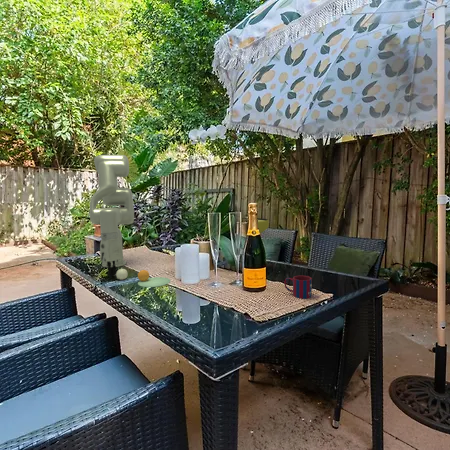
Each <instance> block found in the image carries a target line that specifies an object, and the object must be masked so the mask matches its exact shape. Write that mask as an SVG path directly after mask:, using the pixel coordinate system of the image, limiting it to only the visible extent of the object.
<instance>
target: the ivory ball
mask: <svg viewBox="0 0 450 450" xmlns="http://www.w3.org/2000/svg"><path fill="white" fill-rule="evenodd" d="M128 273H129V272H128V271H127V269H125V268H120V269H117V270H116V275H115V277H116V278H117V279H118V280H119V281H122V280H123V281H124V280H126V278H127V277H128V275H129V274H128Z"/></svg>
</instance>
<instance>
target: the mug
mask: <svg viewBox="0 0 450 450" xmlns="http://www.w3.org/2000/svg"><path fill="white" fill-rule="evenodd" d="M287 280H291V282H292V289H290V288H289V287H288V286H287ZM312 281H313V279H312V277H310V276H309V275H295V276H293V278H292V277H286V278H285V279H284V283H283V284H284V287H285V289H286V290H287V291H288V292H291V293H292V296H293V297H294V298H297V299H300V298H301V300H303V299H304V300H305V299H307V300H308V299H310V298H311V297H312V296H313V295H312V294H313V293H312V289H313V287H312V286H313V285H312Z"/></svg>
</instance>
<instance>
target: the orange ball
mask: <svg viewBox="0 0 450 450" xmlns="http://www.w3.org/2000/svg"><path fill="white" fill-rule="evenodd" d="M137 278H138V280H139V281H146V280H148V278H150V273H149V271H148V270H146V269H143V270H142V269H141V270H139V272H138V273H137Z"/></svg>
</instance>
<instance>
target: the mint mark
mask: <svg viewBox="0 0 450 450" xmlns="http://www.w3.org/2000/svg"><path fill="white" fill-rule="evenodd" d="M169 282H170V283H171V279H170V278H168V277H162V276H161V277H160V276H159V277H158V276H156V277H149V278H148V280H146V281H141V280H139V281H138V282H137V285H138V286H140V287H143V288H157V287H163V286H165V285H166V286H167V285H168V284H170V283H169Z"/></svg>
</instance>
